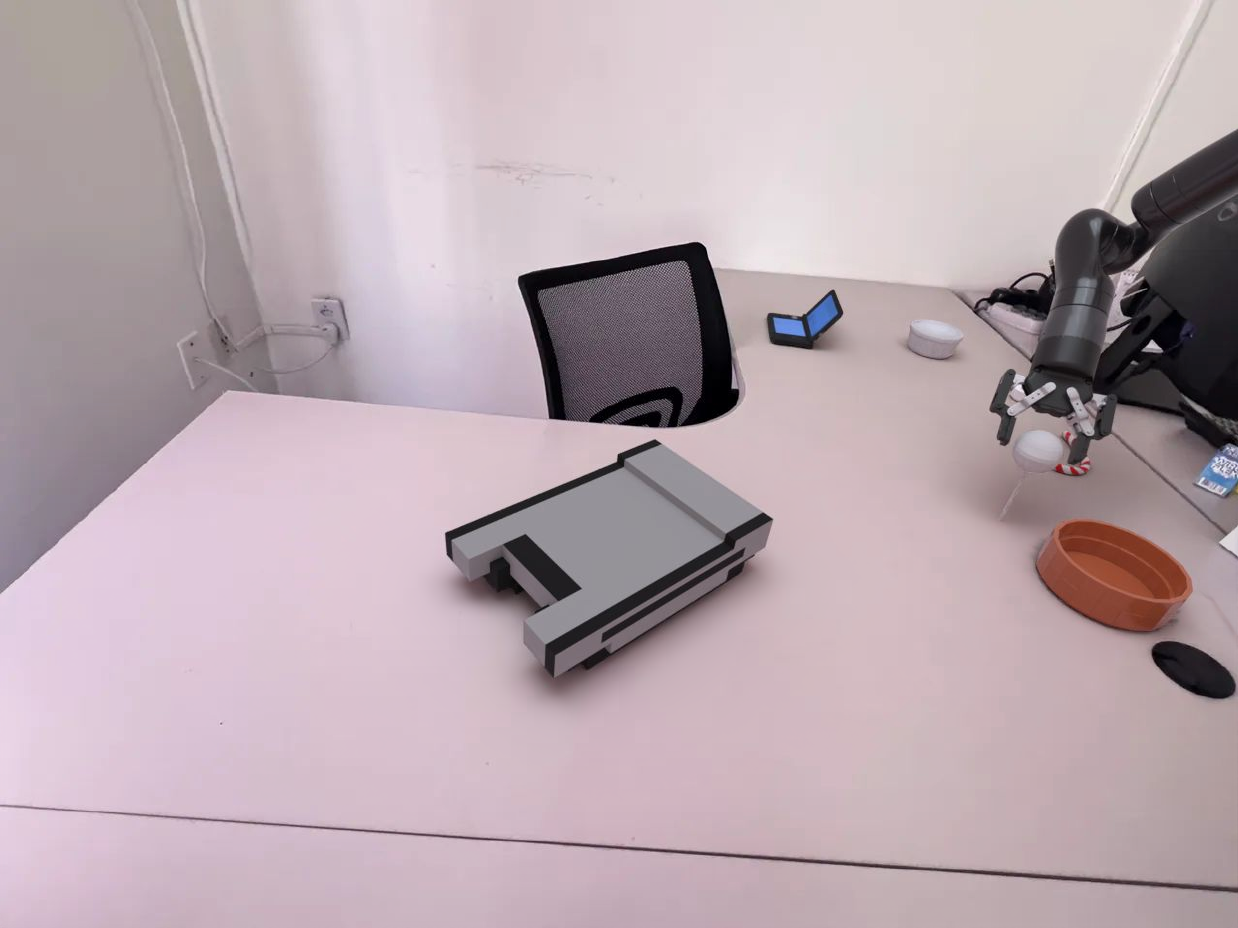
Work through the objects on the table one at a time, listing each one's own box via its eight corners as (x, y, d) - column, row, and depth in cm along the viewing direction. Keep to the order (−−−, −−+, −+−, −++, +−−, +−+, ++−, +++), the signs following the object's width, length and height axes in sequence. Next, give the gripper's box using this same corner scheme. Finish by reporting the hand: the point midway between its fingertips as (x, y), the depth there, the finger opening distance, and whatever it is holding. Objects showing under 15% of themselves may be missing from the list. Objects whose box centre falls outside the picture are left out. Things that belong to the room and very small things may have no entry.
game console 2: (448, 577, 76) (444, 524, 72) (648, 486, 95) (655, 439, 90) (552, 701, 64) (555, 646, 59) (758, 568, 82) (773, 519, 78)
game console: (765, 317, 154) (774, 280, 149) (824, 325, 153) (834, 288, 148) (769, 344, 141) (778, 304, 136) (832, 353, 140) (844, 313, 135)
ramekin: (910, 335, 152) (918, 314, 149) (960, 351, 147) (969, 329, 144) (896, 350, 145) (904, 327, 142) (948, 366, 140) (958, 344, 137)
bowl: (1140, 564, 90) (1162, 534, 87) (1188, 648, 78) (1216, 616, 75) (1022, 538, 92) (1040, 507, 89) (1051, 614, 80) (1073, 583, 77)
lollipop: (987, 501, 99) (1031, 417, 91) (1027, 521, 96) (1077, 435, 87) (972, 517, 95) (1016, 431, 87) (1013, 538, 92) (1064, 451, 84)
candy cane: (1087, 435, 117) (1093, 476, 106) (1084, 441, 117) (1089, 482, 106) (1040, 422, 119) (1040, 460, 108) (1036, 428, 120) (1037, 466, 109)
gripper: (1023, 322, 89) (990, 430, 87) (1142, 348, 85) (1110, 463, 83) (1004, 344, 96) (974, 445, 94) (1113, 369, 92) (1084, 476, 90)
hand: (1038, 453), depth 88 cm, fingers open, 8 cm apart
